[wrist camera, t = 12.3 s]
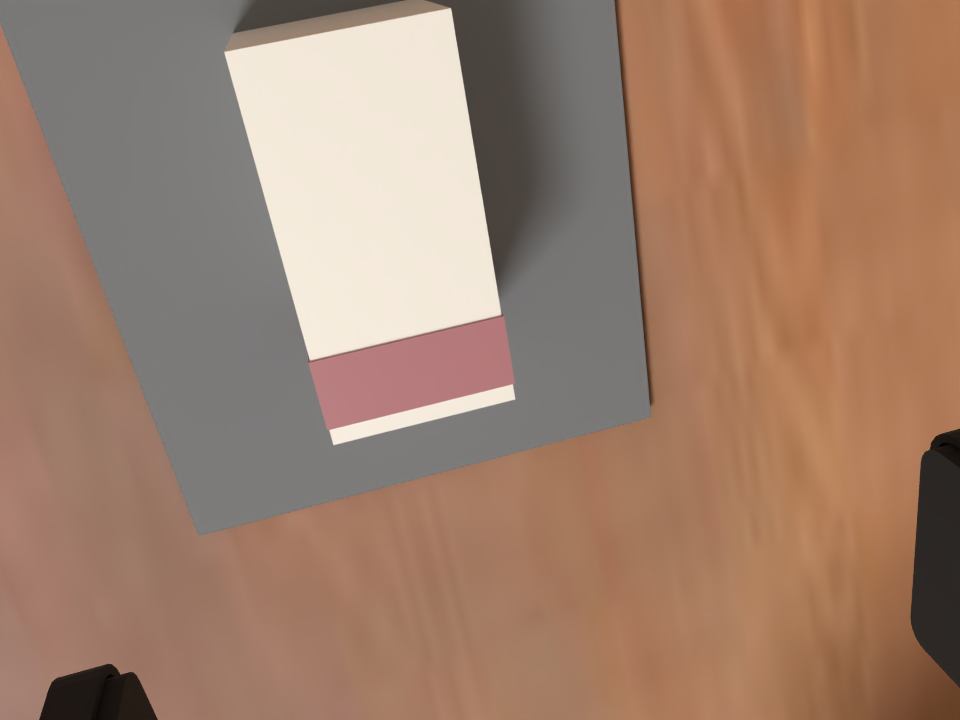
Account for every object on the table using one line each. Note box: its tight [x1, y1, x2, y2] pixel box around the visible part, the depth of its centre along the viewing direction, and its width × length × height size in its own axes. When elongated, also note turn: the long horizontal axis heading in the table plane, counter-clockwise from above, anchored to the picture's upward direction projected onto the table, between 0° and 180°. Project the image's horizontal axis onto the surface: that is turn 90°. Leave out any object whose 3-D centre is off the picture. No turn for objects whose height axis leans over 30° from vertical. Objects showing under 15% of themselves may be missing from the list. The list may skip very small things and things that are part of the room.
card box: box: [224, 0, 515, 445], centre depth 24 cm, size 10×5×5 cm, turn 9°
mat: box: [0, 0, 651, 536], centre depth 26 cm, size 20×16×1 cm
